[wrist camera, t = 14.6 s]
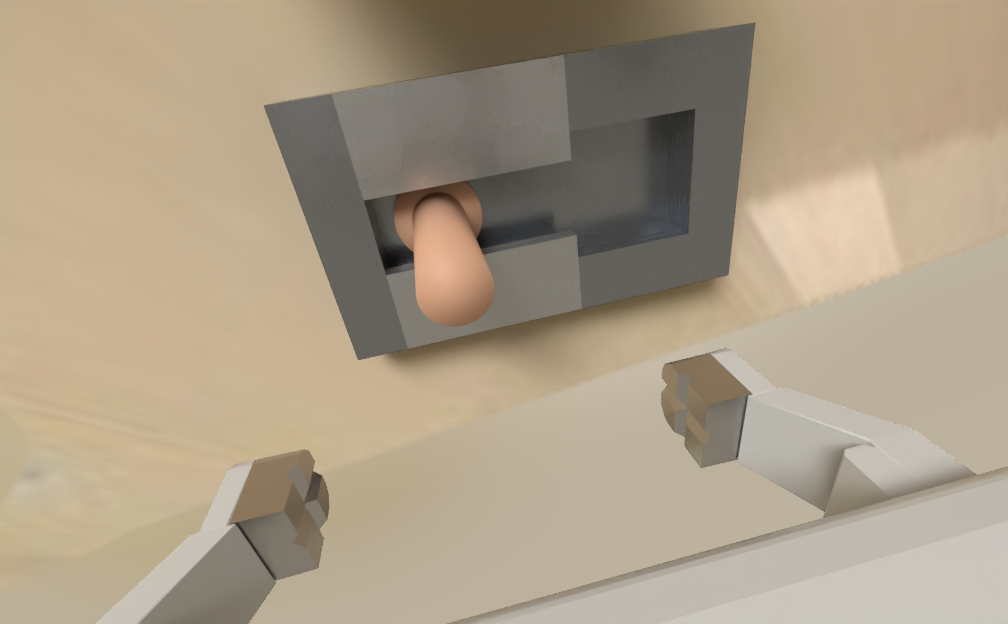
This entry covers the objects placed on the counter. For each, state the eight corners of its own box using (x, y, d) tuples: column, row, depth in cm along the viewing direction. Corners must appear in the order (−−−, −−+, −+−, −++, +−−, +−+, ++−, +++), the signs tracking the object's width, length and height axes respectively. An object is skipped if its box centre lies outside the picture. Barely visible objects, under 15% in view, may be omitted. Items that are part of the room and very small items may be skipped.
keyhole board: (712, 29, 26) (755, 22, 23) (697, 255, 32) (728, 275, 29) (282, 101, 23) (263, 105, 20) (362, 330, 30) (358, 360, 27)
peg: (471, 162, 26) (510, 215, 16) (486, 244, 28) (527, 332, 19) (384, 179, 25) (371, 243, 16) (406, 261, 28) (406, 360, 18)
